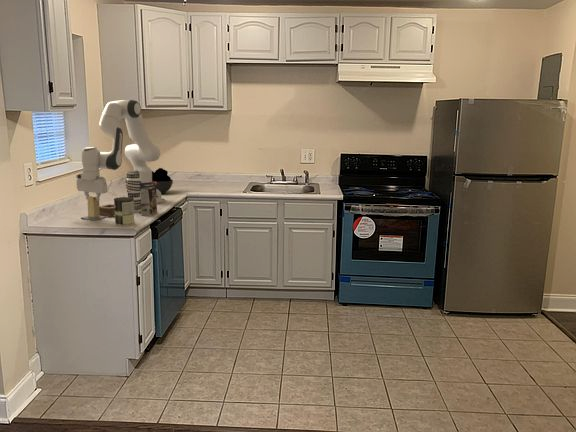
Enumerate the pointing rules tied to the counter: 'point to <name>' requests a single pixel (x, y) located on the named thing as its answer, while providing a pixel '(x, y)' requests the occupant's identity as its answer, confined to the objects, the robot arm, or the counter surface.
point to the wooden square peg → (93, 207)
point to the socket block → (107, 210)
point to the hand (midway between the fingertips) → (92, 199)
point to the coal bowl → (161, 180)
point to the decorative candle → (134, 188)
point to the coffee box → (148, 201)
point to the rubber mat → (93, 218)
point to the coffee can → (124, 211)
